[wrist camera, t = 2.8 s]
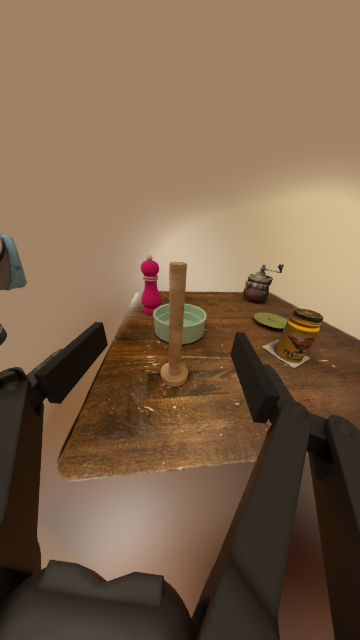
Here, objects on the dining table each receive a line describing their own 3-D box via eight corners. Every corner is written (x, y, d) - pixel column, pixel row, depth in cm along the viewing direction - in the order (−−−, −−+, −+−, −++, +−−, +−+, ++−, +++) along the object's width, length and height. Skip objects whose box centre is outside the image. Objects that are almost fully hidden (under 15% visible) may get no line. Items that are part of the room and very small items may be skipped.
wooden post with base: (154, 377, 30) (149, 262, 20) (171, 361, 35) (173, 259, 24) (177, 392, 28) (184, 268, 17) (192, 372, 32) (205, 263, 22)
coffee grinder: (261, 309, 65) (275, 265, 56) (235, 298, 76) (244, 260, 68) (279, 305, 70) (295, 264, 61) (253, 295, 81) (263, 259, 73)
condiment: (294, 368, 34) (319, 323, 29) (261, 347, 41) (276, 306, 35) (310, 358, 38) (335, 316, 32) (277, 340, 44) (293, 302, 38)
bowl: (143, 332, 45) (141, 314, 42) (173, 314, 56) (174, 299, 53) (187, 353, 37) (188, 333, 34) (212, 328, 49) (214, 311, 46)
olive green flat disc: (292, 325, 53) (294, 320, 52) (283, 337, 46) (285, 332, 45) (259, 314, 60) (261, 310, 59) (247, 323, 53) (248, 318, 52)
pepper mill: (147, 306, 62) (144, 253, 52) (164, 309, 60) (163, 255, 51) (139, 313, 56) (133, 255, 46) (157, 316, 54) (155, 256, 45)
